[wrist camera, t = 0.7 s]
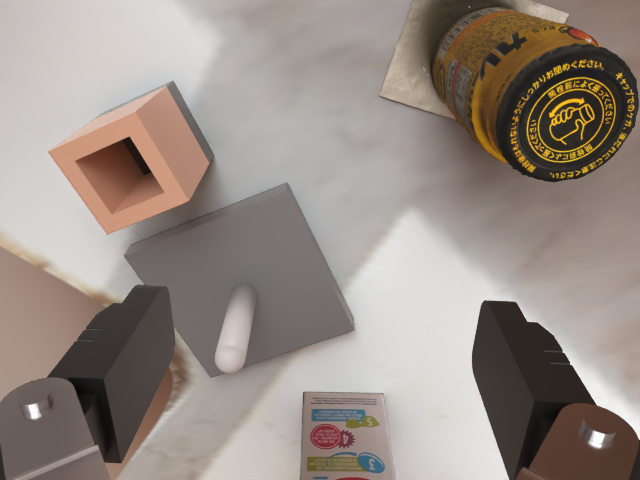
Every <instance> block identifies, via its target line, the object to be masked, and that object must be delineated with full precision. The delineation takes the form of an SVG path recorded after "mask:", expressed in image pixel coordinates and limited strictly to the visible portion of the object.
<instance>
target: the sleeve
mask: <svg viewBox="0 0 640 480" xmlns="http://www.w3.org/2000/svg"><path fill="white" fill-rule="evenodd" d="M48 153H49V154H50V155H51V157H52V158H53V160H54V161H55V162H56V164H57V165H58V166H59V168H60V169H61V171H62V172H63V173H64V175H65V176H66V178H67V179H68V180H69V182H70V183H71V185H72V186H73V187H74V189H75V190H76V192H77V193H78V194H79V196H80V197H81V199H82V200H83V201H84V203H85V204H86V206H87V207H88V208H89V210H90V211H91V213H92V214H93V215H94V217H95V218H96V220H97V221H98V222H99V224H100V225H101V227H102V228H103V229H104V231H105V232H106V234H107V235H108V234H110V233H113V232H115V231H117V230H120V229H122V228H125V227H127V226H130V225H132V224H135V223H137V222H139V221H142V220H144V219H147V218H149V217H152V216H154V215H157V214H159V213H161V212H164V211H166V210H169V209H171V208H174V207H176V206H179V205H181V204H183V203H186V202H188V201H189V200H190V199H191V197H192V195H193V193H194V191H195V189H196V188H197V186H198V184H199V182H200V180H201V178H202V177H203V175H204V173H205V171H206V169H207V167H208V166H209V164H210V162H211V160H212V158H213V156H214V154H213V152H212V150H211V149H210V147H209V145H208V143H207V141H206V139H205V138H204V136H203V134H202V132H201V130H200V129H199V127H198V125H197V123H196V121H195V119H194V118H193V116H192V114H191V112H190V110H189V109H188V107H187V105H186V103H185V101H184V100H183V98H182V96H181V94H180V92H179V90H178V89H177V87H176V85H175V83H174V81H171V82H169V83H167V84H165V85H163V86H161V87H158V88H156V89H154V90H152V91H150V92H148V93H145V94H143V95H141V96H139V97H137V98H135V99H133V100H130V101H128V102H126V103H124V104H122V105H120V106H117V107H115V108H113V109H111V110H109V111H107V112H105V113H102V114H101V115H99V116H98V117H97V118H95V119H94V120H92V121H91V122H89V123H88V124H87V125H85V126H84V127H82V128H81V129H80V130H78V131H77V132H75V133H74V134H72V135H71V136H70V137H68V138H67V139H65V140H64V141H62V142H61V143H60V144H58V145H57V146H55V147H54V148H52V149H51V150H50V151H48Z"/></svg>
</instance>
